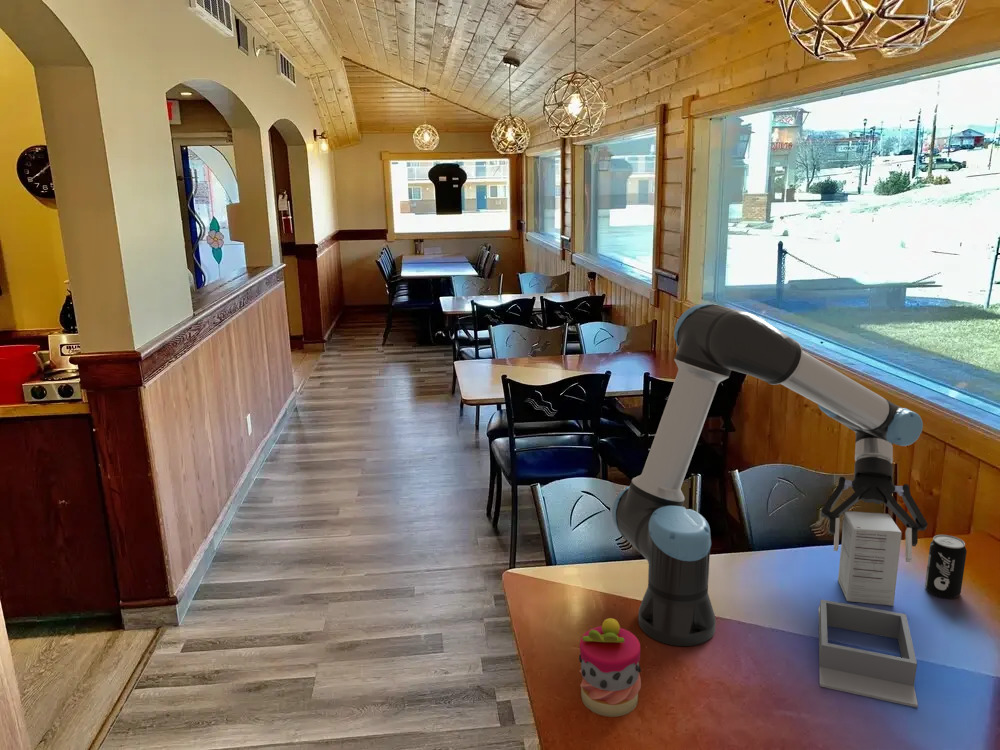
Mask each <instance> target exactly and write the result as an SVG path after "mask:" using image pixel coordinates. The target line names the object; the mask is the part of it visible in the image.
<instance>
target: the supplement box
mask: <svg viewBox="0 0 1000 750" xmlns="http://www.w3.org/2000/svg"><path fill="white" fill-rule="evenodd" d="M841 533H842V535H841V546H840V555H839V564H838V565H839V567H838V575H837V580H838V581H837V582H838V584H839V586H840V588H841V590H842V593H843V594H844V598H845V600H846V602H853V603H854V602H855V603H862V604H863V603H864V604H874V605H883V606H890V607H891V606H893V607H894V604H895V596H896V586H897V580H898V579H897V576H898V571H899V569H898V567H899V561H900V559H899V558H900V551H901V544H902V533H903V532H902V531H901V530H900V528H899V526H898V525H897V524H896V522H895V521H894V519H893V518H892V516H891V515H890V514H889V513H881V512H868V511H867V512H864V511H848V510H847V511H844V513H843V521H842V532H841Z"/></svg>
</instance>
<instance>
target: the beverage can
mask: <svg viewBox="0 0 1000 750" xmlns="http://www.w3.org/2000/svg"><path fill="white" fill-rule="evenodd" d="M967 551H968V550H967V548H966V543H965V541H964V540H963V539H961V538H959V537H957V536H953V535H950V534H949V535H948V534H937V535H934V536H933V538H932V541H931V542H930V544H929V551H928V557H927V558H928V559H927V566H926V574H925V582H924V586H925V588H926V589H927V591H928V592H929V593H930V594H932V595H934V596H935V597H938V598H941V599H942V598H943V599H955V598H957V597H958V596H960V595H961V594H962V593H961V592H962V589H963V588H962V586H963V580H964V579H963V578H964V572H965V565H966V558H967Z"/></svg>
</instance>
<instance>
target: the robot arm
mask: <svg viewBox="0 0 1000 750" xmlns="http://www.w3.org/2000/svg"><path fill="white" fill-rule="evenodd" d="M673 338H674V340H675V343H676V346H677V347H678V348H677V351H676V353H675V357H674V359H673V360H674V362H675V364H676V367H677V369H678V370H677V374H676V376H675V379H674V382H673V385H672V388H671V391H670V393H669V396H668V399H667V401H666V404H665V407H664V409H663V413H662V415H661V417H660V418H661V419H660V421H659V424H658V427H657V430H656V432H655V435H654V439H653V441H652V444H651V447H650V450H649V453H648V456H647V457H646V458H647V459H646V461H645V464H644V465H643V466H644V467H643V469H642V472H641V474H640V475H637V476H636V477H632V479H631V482H630V485H629V486H627V487H625V489H624V490H621V491H620V492H619V493H618V494H617V496H616V497H615V499H614V502H613V504H612V510H611V514H612V515H611V516H612V520H613V524H614V526H615V528H616V529H617V530H618V532H619V533H620V535H621V536H622V537H623V538H624V539H625V540H626V541H627V542H628V543H629V544H630V545H631V546H632V547H633V548H634V549H636V551H637V552H638V553H639V554H640V555H641V556H643V558H644V559H645V560H646V561H647V562H648V563H647V564H648V568H647V569H648V574H647V575H648V577H647V578H648V579H647V582H648V583H647V584H648V585H647V588H646V591H645V593H644V595H643V598H642V600H641V603H640V605H639V608H638V625H639V627H640V629H641V631H643V633H645V635H647V636H648V637H650V639H651V638H652V639H653V640H655V641H657V642H660V643H662V644H664V645H666V644H667V645H670V646H675V647H677V646H678V647H693V646H698V645H702V644H703V643H706V642H707V641H709V640H710V639H712V637H714V635H715V632H716V624H717V623H716V622H717V620H716V614H715V611H714V608H713V605H712V602H711V598H710V595H709V577H710V576H709V575H710V556H711V547H712V539H711V538H712V536H711V528H710V525H709V522H708V521H707V520H706V518H705V517H704V516H703V515H702V514H700V513H699V512H697V511H696V510H694V509H692V508H689V509H687V508H686V507H685V506H683V505H684V502H685V499H686V498H685V496H684V493H683V492H682V490H681V488H682V486H683V484H684V479H685V477H686V474H687V472H688V469H689V466H690V464H691V461H692V457H693V455H694V452H695V449H696V447H697V444H698V441H699V438H700V436H701V433H702V431H703V428H704V424H705V421H706V419H707V416H708V413H709V410H710V408H711V405H712V402H713V400H714V397H715V395H716V392H717V388H718V386H719V384H720V383H721V382H723V381H725V380H727V379H729V378H730V376H731V372H732V371H734V372H737V373H741V374H745V375H747V376H751V377H753V378H756V379H759V380H760V381H763V382H766V383H768V384H769V385H773V386H775V385H776V386H777V385H782V386H783V387H785V388H787V389H788V390H790V391H792V392H795V393H796V394H799V396H802V397H804V398H806V399H808V400H810V401H811V402H813V403H815V404H817V406H818V408H819V409H820V411H821V412H822V413H824V414H825V415H826V416H827V417H829V418H831V419H833V420H835V421H836V422H838V423H840V424H842V425H843V426H845V427H846V428H848V429H849V430H851V431H853V432H854V433H855V443H854V444H855V449H854V461H855V462H854V473H853V474H854V475H853V480H849V479H846V477H844V476H840V477H839V479H838V485H837V486H836V488H835V489H834V490H833V492H832V494H831V495H830V497H829V498H828V500H827V501H826V503H824V505H823V507H822V508H821V510H820V516H821V518H826V519H827V520H828V534H829V535H833V552H838V550H839V547H840V545H839V543H840V542H839V541H840V523H841V522H840V520H841V519H840V517H841V516H842V515H844V511H848V510H849V509H851V507H853V506H854V505H855V504H857V503H858V502H860V501H862V502H864V503H867V504H868V503H872V504H877V505H881V504H884V505H885V506H886V507H887V508H889V510H890V511H891V512H892V513H893V514H894V515H895V516H896V517H897V518H898V520H900V521H901V522H902V524H903V525H904V526H905V527H906V530H905V562H906V563H911V561H912V559H913V557H912V556H913V547H916V546H917V544H918V541H919V540H918V535H919V533H918V532H919V531H923V532H925V530H927V527H928V525H929V524H928V522H927V520H926V518H925V516H924V515H923V513H922V512H921V510H920V509H919V506H918V505H917V503H916V502H915V500H914V498H913V496H912V495H911V490H910V485H909V484H907V483H904V484H902V485H895V484H894V482H893V481H894V480H893V477H894V475H893V472H894V471H893V469H894V468H893V467H894V466H893V462H894V458H893V455H894V451H893V449H894V447H893V444H894V445H896V446H900V447H906V446H907V447H908V446H910V445H912V444H914V443H915V442H916V441H917V440H918V439H919V437H920V436H921V434H922V432H923V427H924V423H923V420H922V417H921V416H920V415H919V413H917V412H915V411H914V410H913V411H912V410H911V409H909V408H907V407H901V406H899V405H897V404H895V403H893V402H892V401H890V400H888V399H886V398H884V397H883V396H881V395H880V394H878V393H876V392H874V391H872V390H871V389H869V388H867V387H865V386H864V385H862V384H860V383H859V382H858V381H856V380H853V379H852V378H850V377H849V376H847V375H845V374H843V373H841V372H840V371H838V370H837V369H835V368H833V367H831V365H830V366H829V365H827V364H826V363H824V362H823V361H820V360H819V359H817V358H816V357H814V356H812V355H811V354H809V353H807V352H806V351H803V349H802V346H801V344H800V342H798V341H797V340H795V339H794V338H792V337H791V336H790V335H787V334H786V333H784V332H783V331H781V330H779V329H778V328H776V327H775V326H774V325H772V324H770V323H769V322H768V321H765V320H764V319H762V318H761V317H759V316H757V315H755V314H753V313H750V312H748V311H744V310H738V309H734V308H730V307H726V306H724V305H720V304H716V303H713V304H711V303H700V304H696V305H693V306H692V307H690V308H688V309H686V310H685V311H684V312H683V313H682V314H681V315H680V316H679V318H678V320H677V321H676V324H675V326H674V332H673ZM849 487H851V488H852V489H853V493H852V494H851V495H850V496H849V497H848V498H847V499H845V501H843V502H842V503H841V504H840V505H838V506H837V507H836V508H835V509H833V510H832V508H833V507H834V505H835V504H836V503H837V501H838V500H839V498H840V497H841V495H842V494H843V491H844V490H845V491H846V490H847V489H849ZM894 493H897V494H898V496H899V497H901V498H902V501H903V503H904V504H905V506H906V508H907V510H908V511H909V513H910V515H911V516H910V515H909V513H908V512H907V511H906V510H905V509H904V508H903V507H902V506H901V505H900V504H899V502H898V501H897V500H896V498H895V497H894V496H893V494H894ZM831 510H832V511H831Z"/></svg>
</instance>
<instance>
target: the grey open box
mask: <svg viewBox="0 0 1000 750" xmlns="http://www.w3.org/2000/svg"><path fill="white" fill-rule="evenodd" d="M817 609H818V654H819V655H818V658H819V660H818V661H819V664H818V665H819V666H818V667H819V668H818V669H819V687H822V688H825V689H830V690H835V691H840V692H845V693H850V694H854V695H857V696H858V695H859V696H863V697H868V698H872V699H876V700H881V701H885V702H891V703H895V704H900V705H904V706H908V707H912V708H916V709H917V708H918V706H919V703H918V698H917V694H916V690H915V683H916V677H917V676H916V675H917V666H918V662H917V658H916V657H917V656H916V654H915V653H916V652H915V648H914V643H913V639H912V636H911V635H912V634H911V632H910V626H909V621H908V618H907V614H906V613H902V612H901V613H900V612H895V611H890V610H885V609H878V608H872V607H867V606H866V607H865V606H861V605H856V604H850V603H843V602H839V601H832V600H828V599H827V600H826V599H820V604H819V605H818V608H817ZM828 627H831V628H832V627H833V628H838V629H842V630H847V631H848V630H849V631H854V632H858V633H865V634H871V635H874V636H879V637H880V636H881V637H886V638H890V639H896V640H897V641H898V646H899V652H901V653H900V656H895V655H891V654H886V653H885V654H884V653H880V652H875V651H869V650H864V649H859V648H856V647H849V646H846V645H845V646H844V645H840V644H834V643H830V642H828V640H829V639H828ZM901 657H902V658H901Z"/></svg>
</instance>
